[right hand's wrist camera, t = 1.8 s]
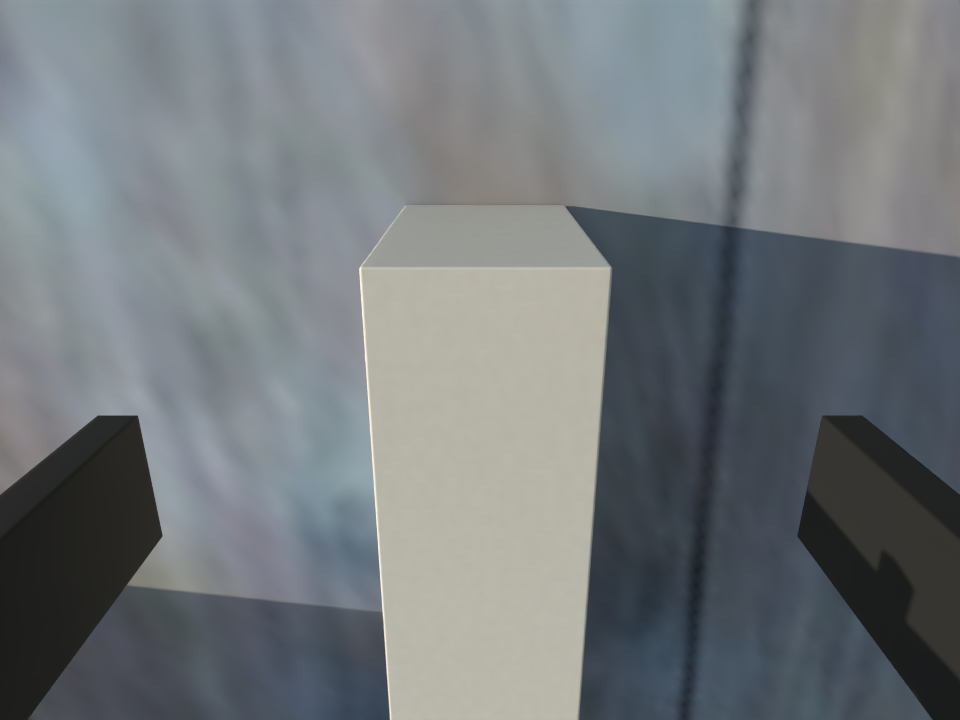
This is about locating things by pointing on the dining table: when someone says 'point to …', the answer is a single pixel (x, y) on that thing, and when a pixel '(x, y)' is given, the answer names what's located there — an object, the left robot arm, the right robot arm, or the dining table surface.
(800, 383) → the dining table surface
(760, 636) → the dining table surface
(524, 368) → the bar
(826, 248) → the dining table surface
